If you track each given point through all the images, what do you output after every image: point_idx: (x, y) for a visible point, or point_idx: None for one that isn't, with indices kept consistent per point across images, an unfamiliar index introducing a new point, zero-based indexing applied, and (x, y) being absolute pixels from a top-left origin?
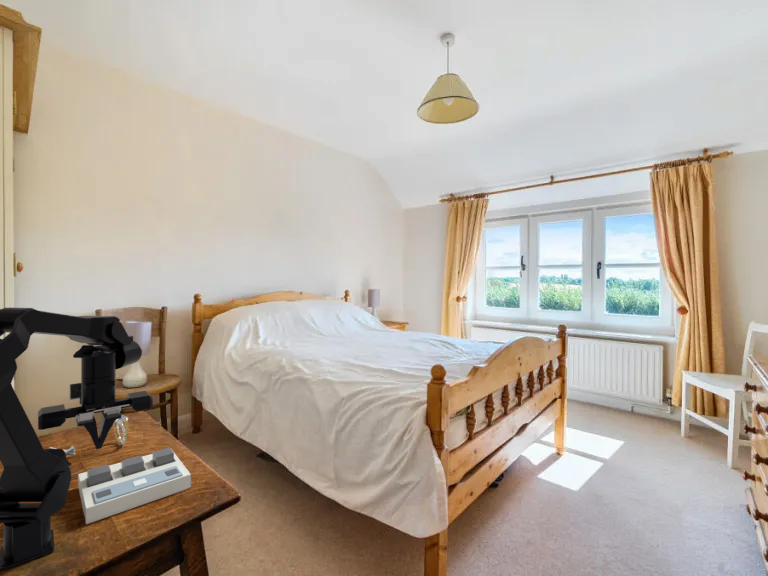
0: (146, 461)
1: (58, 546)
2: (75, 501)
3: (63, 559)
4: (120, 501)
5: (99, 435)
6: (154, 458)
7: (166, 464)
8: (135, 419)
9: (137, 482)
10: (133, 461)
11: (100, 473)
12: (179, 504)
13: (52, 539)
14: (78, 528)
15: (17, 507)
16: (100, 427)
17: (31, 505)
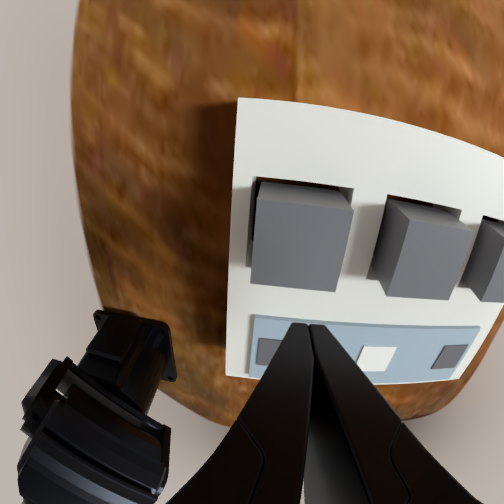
0: (473, 213)
1: (182, 368)
2: (223, 205)
3: (191, 397)
4: None
5: (318, 424)
6: (485, 266)
7: None
8: None
9: (369, 358)
10: (430, 273)
11: (294, 287)
12: (392, 390)
13: (170, 358)
14: (216, 345)
15: (77, 385)
16: (341, 489)
17: (103, 400)
